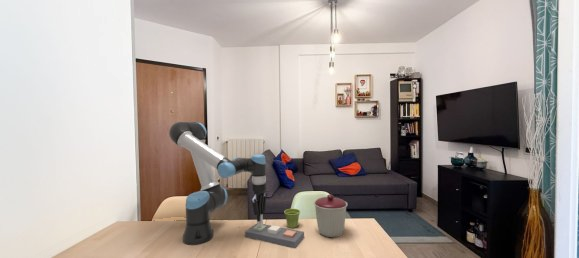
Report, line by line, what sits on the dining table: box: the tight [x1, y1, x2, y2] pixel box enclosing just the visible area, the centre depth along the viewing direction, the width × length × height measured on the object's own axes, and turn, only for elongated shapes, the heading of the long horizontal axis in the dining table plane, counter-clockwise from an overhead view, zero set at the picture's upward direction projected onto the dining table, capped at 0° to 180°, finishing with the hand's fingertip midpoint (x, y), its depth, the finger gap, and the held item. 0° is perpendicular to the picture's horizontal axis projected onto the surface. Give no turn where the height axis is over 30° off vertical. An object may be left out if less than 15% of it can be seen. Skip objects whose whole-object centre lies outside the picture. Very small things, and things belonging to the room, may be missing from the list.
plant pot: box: [283, 208, 301, 229], centre depth 139 cm, size 9×9×9 cm
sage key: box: [253, 225, 266, 232], centre depth 129 cm, size 5×5×3 cm
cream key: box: [268, 225, 282, 235], centre depth 125 cm, size 5×5×3 cm
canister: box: [313, 194, 348, 238], centre depth 129 cm, size 18×18×21 cm
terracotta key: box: [283, 230, 296, 238], centre depth 121 cm, size 5×5×3 cm
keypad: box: [244, 223, 305, 249], centre depth 125 cm, size 29×12×3 cm, turn 65°
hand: (260, 226), depth 129 cm, fingers closed
